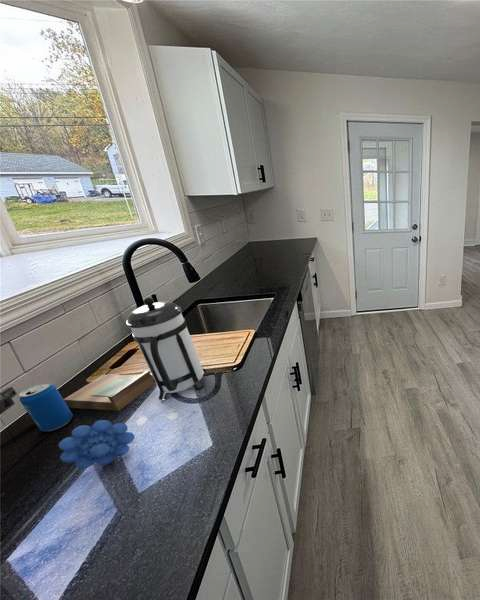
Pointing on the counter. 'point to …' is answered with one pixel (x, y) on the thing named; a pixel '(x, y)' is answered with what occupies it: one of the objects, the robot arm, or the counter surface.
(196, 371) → the coffee press
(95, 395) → the shallow wooden tray
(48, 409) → the beverage can
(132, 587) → the counter surface
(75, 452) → the blue lobed cluster
